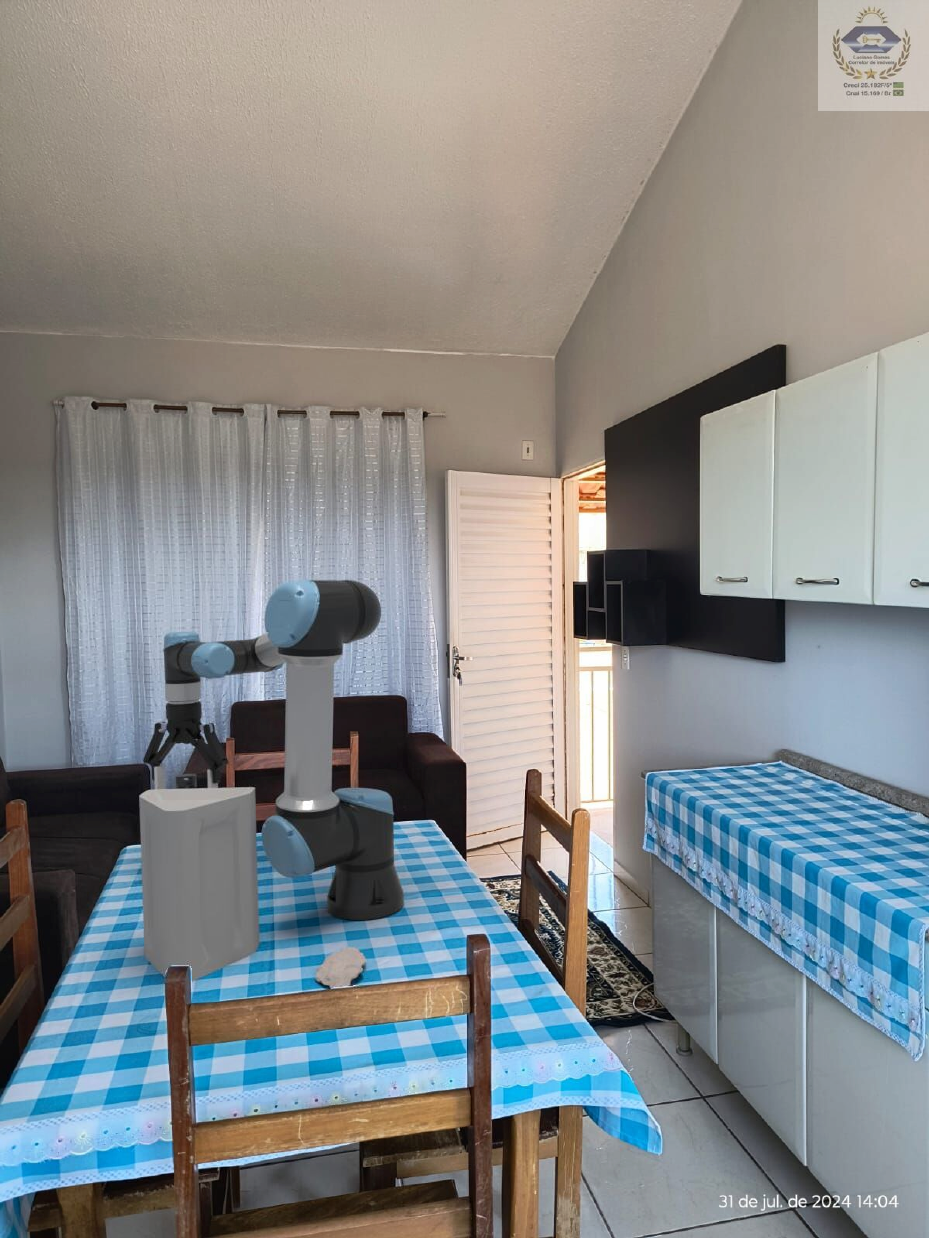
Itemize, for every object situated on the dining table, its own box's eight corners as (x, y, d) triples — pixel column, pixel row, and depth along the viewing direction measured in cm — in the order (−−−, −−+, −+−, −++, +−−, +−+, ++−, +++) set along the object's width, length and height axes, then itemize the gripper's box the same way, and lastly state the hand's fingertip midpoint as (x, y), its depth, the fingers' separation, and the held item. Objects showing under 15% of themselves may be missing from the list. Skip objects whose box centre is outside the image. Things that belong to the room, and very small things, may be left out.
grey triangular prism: (120, 984, 131) (114, 812, 130) (153, 944, 146) (148, 789, 145) (239, 981, 131) (234, 809, 130) (260, 941, 146) (256, 786, 145)
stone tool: (366, 996, 126) (364, 959, 141) (367, 976, 126) (365, 942, 141) (313, 998, 125) (317, 961, 140) (314, 977, 125) (317, 943, 140)
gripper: (242, 700, 181) (245, 794, 182) (146, 698, 188) (149, 789, 189) (223, 704, 174) (226, 803, 175) (124, 702, 181) (127, 797, 182)
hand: (186, 796), depth 182 cm, fingers open, 13 cm apart
